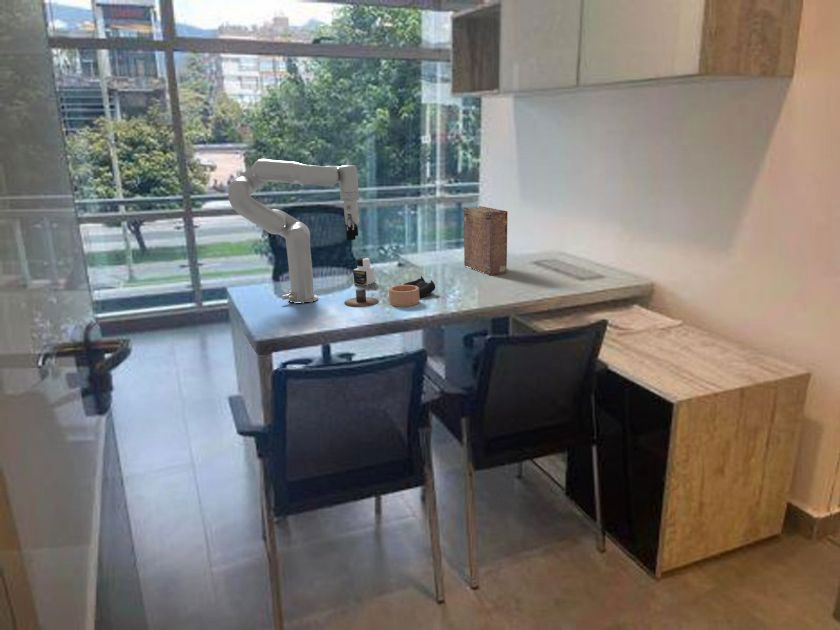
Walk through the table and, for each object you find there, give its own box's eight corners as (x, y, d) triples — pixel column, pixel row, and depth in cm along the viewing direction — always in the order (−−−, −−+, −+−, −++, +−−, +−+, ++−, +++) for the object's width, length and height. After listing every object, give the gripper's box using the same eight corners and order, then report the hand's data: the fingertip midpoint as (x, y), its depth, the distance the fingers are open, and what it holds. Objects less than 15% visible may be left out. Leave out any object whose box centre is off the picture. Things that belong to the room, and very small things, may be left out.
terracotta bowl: (405, 308, 248) (404, 293, 246) (383, 303, 256) (383, 289, 254) (425, 301, 257) (424, 287, 255) (403, 297, 264) (403, 283, 263)
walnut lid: (360, 309, 249) (360, 295, 248) (337, 304, 258) (336, 290, 256) (385, 302, 259) (384, 288, 258) (361, 297, 268) (361, 283, 266)
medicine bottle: (353, 284, 289) (352, 259, 286) (362, 281, 295) (360, 256, 292) (366, 285, 286) (365, 260, 282) (375, 282, 292) (373, 257, 288)
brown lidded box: (464, 266, 320) (463, 207, 312) (479, 264, 324) (479, 206, 316) (490, 275, 298) (490, 212, 290) (506, 273, 302) (507, 211, 294)
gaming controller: (423, 304, 263) (440, 289, 265) (416, 293, 260) (434, 279, 263) (405, 295, 277) (422, 281, 280) (399, 285, 274) (416, 271, 277)
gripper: (356, 198, 247) (359, 241, 252) (361, 193, 264) (364, 234, 269) (337, 199, 247) (341, 241, 252) (343, 194, 264) (346, 234, 269)
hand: (353, 237), depth 260 cm, fingers open, 9 cm apart
